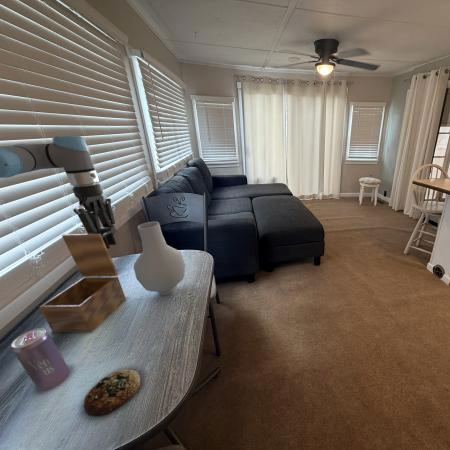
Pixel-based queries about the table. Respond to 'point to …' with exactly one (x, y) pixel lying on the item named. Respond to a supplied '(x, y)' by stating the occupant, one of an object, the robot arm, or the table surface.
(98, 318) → the chest
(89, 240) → the chest lid
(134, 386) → the bread roll
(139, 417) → the table surface
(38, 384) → the beverage can
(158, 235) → the vase
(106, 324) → the table surface
